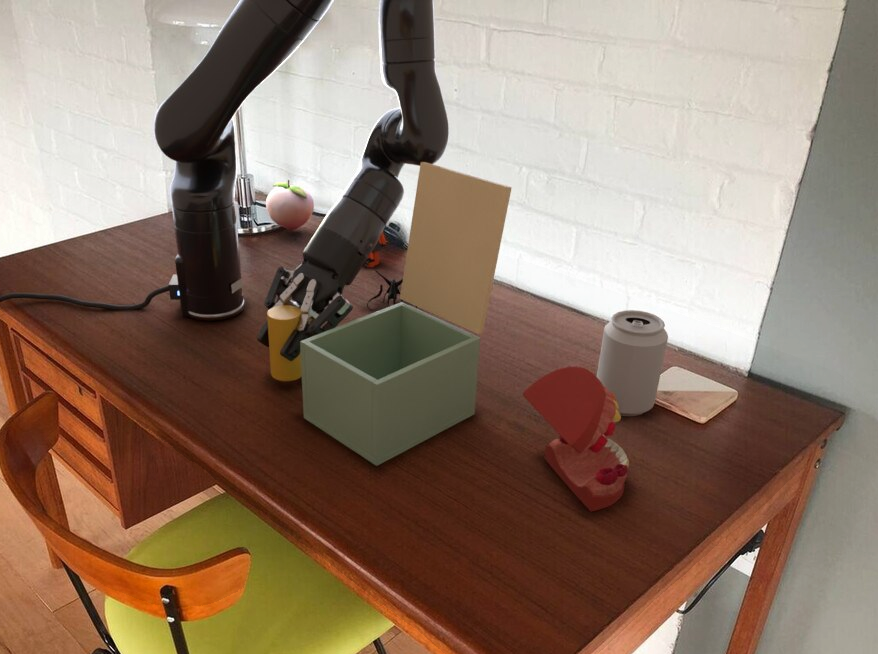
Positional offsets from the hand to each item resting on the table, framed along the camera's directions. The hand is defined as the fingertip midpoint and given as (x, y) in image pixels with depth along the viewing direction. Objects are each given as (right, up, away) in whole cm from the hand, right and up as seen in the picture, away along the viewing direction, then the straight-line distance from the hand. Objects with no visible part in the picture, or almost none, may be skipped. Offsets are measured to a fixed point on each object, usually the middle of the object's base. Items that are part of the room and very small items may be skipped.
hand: (274, 350), depth 108 cm
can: (+45, -7, -2) cm, 45 cm away
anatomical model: (+35, -15, -16) cm, 41 cm away
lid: (+22, +12, -9) cm, 26 cm away
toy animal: (+11, +17, +39) cm, 44 cm away
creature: (+16, +8, +24) cm, 30 cm away
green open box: (+15, -8, -4) cm, 18 cm away
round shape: (+1, +1, +1) cm, 2 cm away
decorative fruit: (-3, +25, +53) cm, 59 cm away
